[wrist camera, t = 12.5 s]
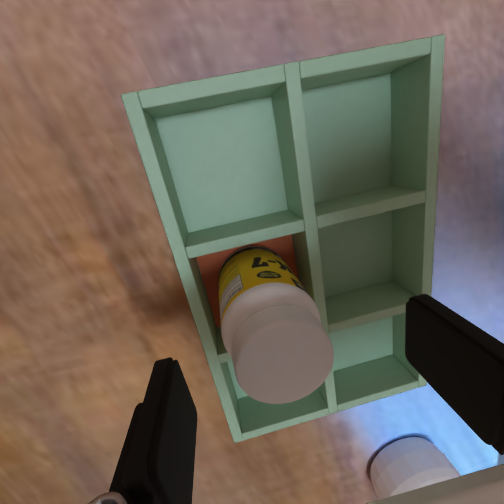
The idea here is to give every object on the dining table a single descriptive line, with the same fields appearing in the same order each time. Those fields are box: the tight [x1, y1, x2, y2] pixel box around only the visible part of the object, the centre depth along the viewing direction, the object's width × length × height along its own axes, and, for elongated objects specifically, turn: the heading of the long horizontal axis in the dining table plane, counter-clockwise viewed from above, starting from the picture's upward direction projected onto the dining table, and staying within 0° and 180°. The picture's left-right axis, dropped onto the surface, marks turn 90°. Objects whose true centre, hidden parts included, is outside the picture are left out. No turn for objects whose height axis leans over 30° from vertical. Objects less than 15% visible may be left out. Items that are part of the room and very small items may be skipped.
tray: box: [121, 34, 445, 443], centre depth 17 cm, size 15×22×4 cm
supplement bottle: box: [218, 246, 334, 404], centre depth 14 cm, size 5×5×8 cm
